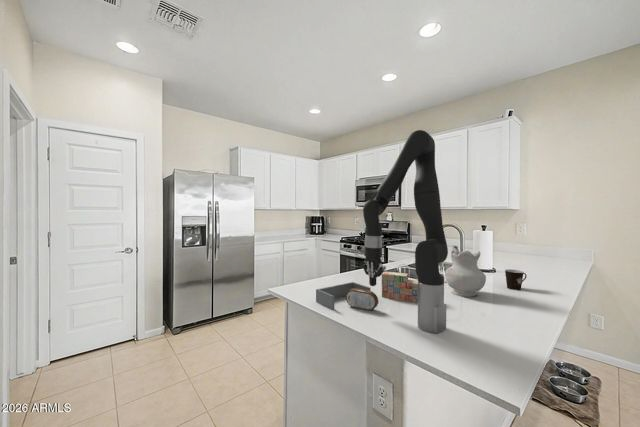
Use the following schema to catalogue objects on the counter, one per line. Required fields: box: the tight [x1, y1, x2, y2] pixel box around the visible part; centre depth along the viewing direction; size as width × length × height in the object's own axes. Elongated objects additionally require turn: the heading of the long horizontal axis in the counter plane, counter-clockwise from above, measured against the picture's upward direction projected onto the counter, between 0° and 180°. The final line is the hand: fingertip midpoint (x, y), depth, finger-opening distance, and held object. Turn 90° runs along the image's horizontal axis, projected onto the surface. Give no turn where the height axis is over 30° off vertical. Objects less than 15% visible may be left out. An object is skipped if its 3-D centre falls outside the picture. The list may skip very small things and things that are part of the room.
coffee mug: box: [504, 268, 527, 291], centre depth 154 cm, size 12×9×10 cm
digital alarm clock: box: [345, 288, 379, 311], centre depth 123 cm, size 15×3×8 cm, turn 59°
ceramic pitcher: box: [444, 245, 487, 298], centre depth 146 cm, size 22×20×25 cm
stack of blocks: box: [381, 271, 418, 303], centre depth 137 cm, size 21×6×12 cm, turn 63°
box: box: [315, 281, 371, 311], centre depth 133 cm, size 13×24×6 cm, turn 125°
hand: (372, 285), depth 117 cm, fingers closed
